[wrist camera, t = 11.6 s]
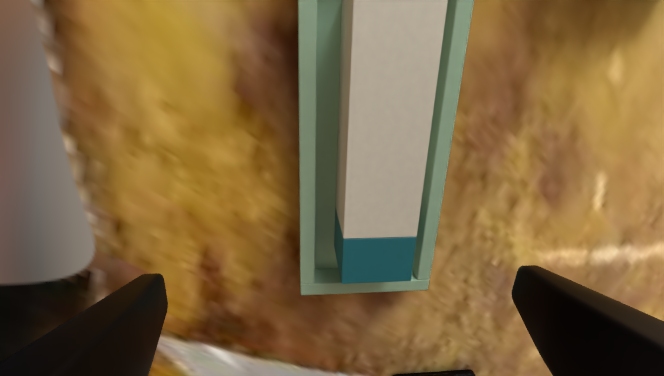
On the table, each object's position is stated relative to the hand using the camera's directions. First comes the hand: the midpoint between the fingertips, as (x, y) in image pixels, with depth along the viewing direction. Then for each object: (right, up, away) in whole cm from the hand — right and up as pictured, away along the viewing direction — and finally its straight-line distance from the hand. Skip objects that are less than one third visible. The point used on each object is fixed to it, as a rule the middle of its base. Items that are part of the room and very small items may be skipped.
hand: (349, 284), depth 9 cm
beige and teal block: (+2, +5, +10) cm, 11 cm away
